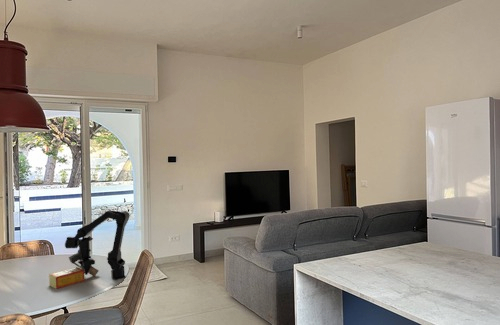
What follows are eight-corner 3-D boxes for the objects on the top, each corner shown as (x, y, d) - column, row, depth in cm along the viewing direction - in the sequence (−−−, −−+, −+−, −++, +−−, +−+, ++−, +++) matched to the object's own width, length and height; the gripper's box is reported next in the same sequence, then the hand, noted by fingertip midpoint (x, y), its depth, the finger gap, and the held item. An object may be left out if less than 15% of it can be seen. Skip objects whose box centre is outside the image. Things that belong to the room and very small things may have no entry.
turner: (92, 275, 226) (96, 269, 228) (95, 277, 221) (99, 271, 223) (70, 261, 219) (74, 255, 221) (72, 263, 214) (77, 257, 216)
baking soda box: (49, 273, 210) (77, 267, 222) (49, 285, 210) (78, 277, 222) (55, 277, 204) (84, 269, 216) (56, 288, 204) (85, 280, 216)
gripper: (65, 247, 222) (66, 273, 223) (74, 253, 208) (75, 281, 209) (85, 244, 230) (86, 269, 230) (94, 249, 215) (95, 276, 216)
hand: (85, 274), depth 221 cm, fingers closed on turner, 3 cm apart
